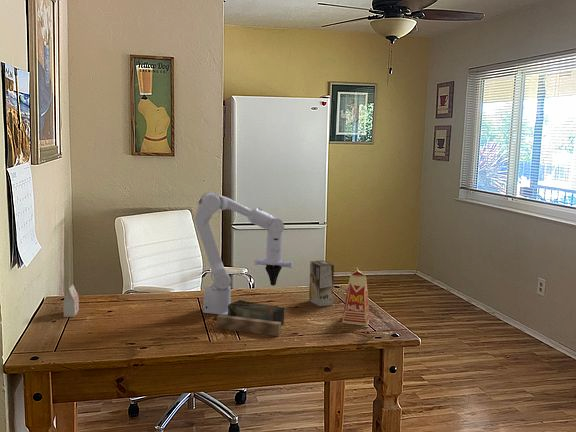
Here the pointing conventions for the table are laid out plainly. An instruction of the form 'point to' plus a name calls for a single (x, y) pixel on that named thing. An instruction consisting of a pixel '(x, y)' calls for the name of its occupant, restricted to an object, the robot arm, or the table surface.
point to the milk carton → (356, 300)
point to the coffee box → (321, 283)
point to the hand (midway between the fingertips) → (273, 284)
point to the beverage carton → (256, 311)
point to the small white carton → (71, 303)
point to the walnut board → (249, 325)
